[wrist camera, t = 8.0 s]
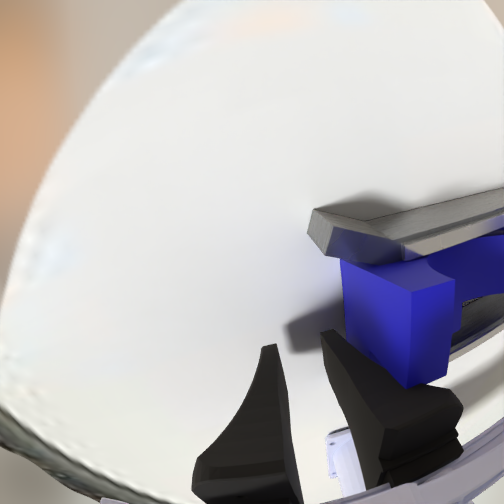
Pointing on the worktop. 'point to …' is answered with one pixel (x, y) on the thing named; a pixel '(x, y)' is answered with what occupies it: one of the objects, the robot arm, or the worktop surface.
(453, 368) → the worktop surface
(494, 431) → the robot arm
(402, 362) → the cable clip
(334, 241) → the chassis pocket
